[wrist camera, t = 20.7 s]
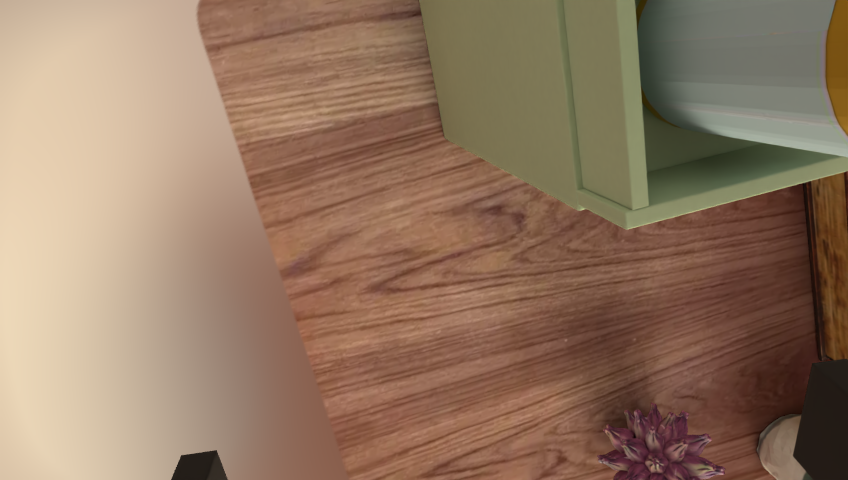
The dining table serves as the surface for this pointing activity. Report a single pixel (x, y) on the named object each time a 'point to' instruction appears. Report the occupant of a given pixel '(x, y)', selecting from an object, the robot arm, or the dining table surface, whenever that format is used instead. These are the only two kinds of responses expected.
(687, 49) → the bottle
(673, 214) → the stand
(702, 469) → the flower
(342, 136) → the dining table surface
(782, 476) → the figurine
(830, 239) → the book
